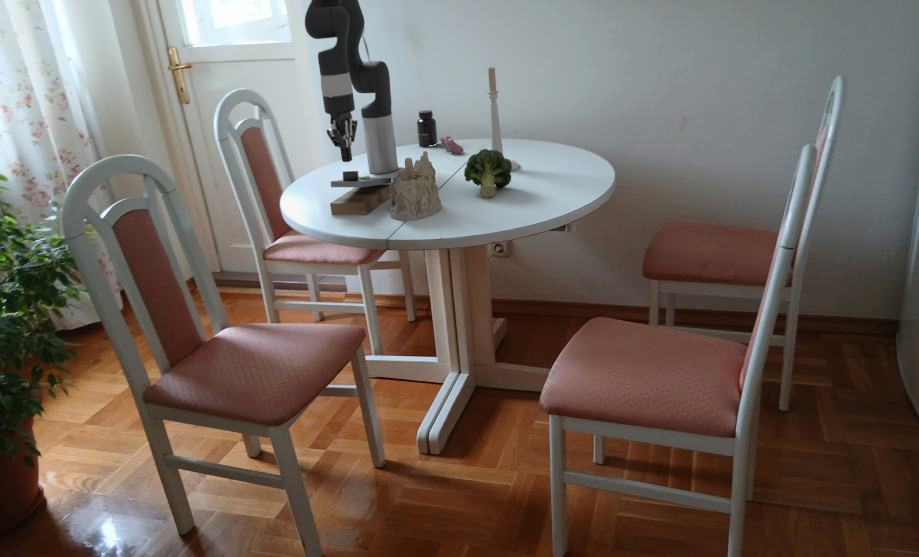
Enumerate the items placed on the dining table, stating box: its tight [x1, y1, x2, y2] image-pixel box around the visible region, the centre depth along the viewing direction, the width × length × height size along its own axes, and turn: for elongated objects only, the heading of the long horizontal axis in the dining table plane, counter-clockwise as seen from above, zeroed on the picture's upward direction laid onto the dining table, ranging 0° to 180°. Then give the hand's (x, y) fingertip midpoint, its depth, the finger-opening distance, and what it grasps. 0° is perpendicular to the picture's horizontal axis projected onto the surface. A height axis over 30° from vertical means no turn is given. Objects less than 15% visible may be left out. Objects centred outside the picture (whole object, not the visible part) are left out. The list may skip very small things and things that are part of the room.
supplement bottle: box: [416, 109, 439, 147], centre depth 262 cm, size 7×7×12 cm
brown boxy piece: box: [329, 177, 395, 216], centre depth 200 cm, size 20×13×5 cm, turn 162°
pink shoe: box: [439, 134, 464, 154], centre depth 250 cm, size 10×5×7 cm, turn 18°
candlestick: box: [486, 66, 520, 173], centre depth 219 cm, size 13×13×30 cm
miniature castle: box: [387, 150, 443, 222], centre depth 188 cm, size 16×16×15 cm
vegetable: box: [463, 148, 512, 199], centre depth 199 cm, size 12×13×15 cm
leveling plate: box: [330, 170, 393, 188], centre depth 198 cm, size 18×9×4 cm, turn 162°
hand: (347, 161), depth 190 cm, fingers closed
